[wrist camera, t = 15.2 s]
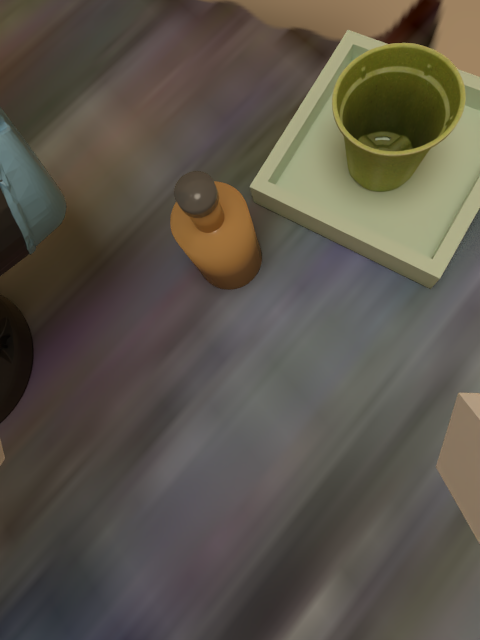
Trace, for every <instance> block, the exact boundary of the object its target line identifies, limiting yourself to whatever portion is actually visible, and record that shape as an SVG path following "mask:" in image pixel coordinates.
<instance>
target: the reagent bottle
mask: <svg viewBox="0 0 480 640" xmlns="http://www.w3.org/2000/svg"><path fill="white" fill-rule="evenodd" d="M174 197H175V200H176V203H175V205H174V207H173V210H172V213H171V219H170V225H171V230H172V234H173V236H174V238H175V240H176V241H177V243H178V244H179V245H180V247H181V248H182V249H183V250H184V252H185V253H186V254H187V256H188V257H189V258H190V259H191V261H192V262H193V263H194V265H195V266H196V267H197V268H198V270H199V271H200V272H201V274H202V275H203V276H204V277H205V279H206V280H207V281H208V282H209V283H210V284H212V285H213V286H215V287H217V288H221V289H228V290H230V289H237V288H240V287H243V286H245V285H246V284H248V283H249V282H250V281H252V280H253V278H254V277H255V276H256V275H257V273H258V271H259V269H260V266H261V262H262V253H261V249H260V246H259V243H258V239H257V236H256V233H255V230H254V226H253V223H252V220H251V217H250V214H249V210H248V207H247V204H246V202H245V200H244V198H243V196H242V195H241V194H240V193H239V192H238V191H237V190H236V189H235V188H234V187H232V186H230V185H228V184H225V183H222V182H214V181H213V179H212V178H211V177H210V176H209V175H208V174H206V173H204V172H201V171H193V172H189V173H187V174H185V175H184V176H182V177H181V178H180V179H179V180H178V182H177V183H176V186H175V189H174Z"/></svg>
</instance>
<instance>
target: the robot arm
mask: <svg viewBox="0 0 480 640" xmlns="http://www.w3.org/2000/svg"><path fill="white" fill-rule="evenodd" d="M65 212H66V202H65V198H64V196H63V194H62V192H61V191H60V189H59V187H58V186H57V184H56V183H55V182H54V180H53V179H52V177H51V176H50V174H49V173H48V171H47V170H46V169H45V167H44V166H43V164H42V163H41V162H40V160H39V159H38V158H37V156H36V155H35V153H34V152H33V151H32V149H31V148H30V146H29V145H28V144H27V142H26V141H25V140H24V138H23V137H22V136H21V134H20V133H19V131H18V130H17V129H16V127H15V126H14V125H13V123H12V122H11V121H10V119H9V118H8V117H7V115H6V114H5V113H4V111H3V110H2V109H1V107H0V276H1V275H2V274H4V273H5V272H6V271H7V270H9V269H10V268H11V267H13V266H14V265H15V264H17V263H18V262H19V261H20V260H22V259H23V258H24V257H26V256H27V255H28V254H30V255H31V254H32V253H33V252H34V251H35V250H36V246H37V245H38V244H39V243H40V242H41V241H42V240H44V239H45V238H46V237H47V236H48V235H49V234H50V233H51V232H52V231H54V230H55V229H56V228H57V227H58V226H59V225H60V224H61V223H62V221H63V219H64V217H65ZM32 358H33V348H32V339H31V334H30V331H29V328H28V325H27V323H26V321H25V319H24V317H23V315H22V314H21V312H20V311H19V310H18V308H17V307H16V306H15V305H14V304H13V303H12V302H11V301H9V300H8V299H7V298H5V297H3V296H2V295H0V422H1V421H2V420H3V419H4V418H5V417H6V416H7V415H8V414H9V413H10V412H11V411H12V409H13V408H14V407H15V405H16V404H17V403H18V401H19V399H20V398H21V396H22V394H23V392H24V390H25V387H26V385H27V382H28V379H29V376H30V372H31V367H32ZM4 459H5V456H4V452H3V448H2V444H1V440H0V466H1V464H2V462H3V461H4ZM436 468H437V470H438V471H439V473H440V475H441V477H442V478H443V480H444V482H445V484H446V486H447V487H448V489H449V491H450V493H451V494H452V496H453V498H454V500H455V501H456V503H457V505H458V507H459V508H460V510H461V512H462V514H463V516H464V517H465V519H466V521H467V523H468V524H469V526H470V528H471V530H472V531H473V533H474V535H475V537H476V538H477V540H478V542H479V544H480V393H458V396H457V399H456V402H455V406H454V409H453V412H452V415H451V419H450V422H449V425H448V429H447V432H446V435H445V439H444V442H443V445H442V449H441V452H440V455H439V459H438V462H437V465H436Z"/></svg>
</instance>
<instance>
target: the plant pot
mask: <svg viewBox="0 0 480 640" xmlns="http://www.w3.org/2000/svg"><path fill="white" fill-rule="evenodd" d="M465 101H466V93H465V85H464V82H463V79H462V77H461V75H460V73H459V71H458V70H457V68H456V67H455V65H454V64H453V63H452V62H451V61H450V60H449V59H448V58H447V57H445V56H444V55H443V54H441V53H439V52H437V51H435V50H433V49H430V48H428V47H425V46H422V45H418V44H412V43H393V44H387V45H384V46H380V47H376V48H373V49H371V50H368V51H367V52H365V53H363V54H362V55H360V56H358V57H357V58H355V59H354V60H353V61H352V62H351V63H350V64H349V65H348V66H347V67H346V68H345V69H344V70H343V71H342V73H341V74H340V76H339V78H338V79H337V81H336V84H335V86H334V90H333V95H332V110H333V115H334V119H335V122H336V124H337V126H338V128H339V130H340V132H341V133H342V134H343V136H344V142H345V149H346V158H347V165H348V170H349V173H350V175H351V176H352V178H353V179H354V180H356V181H357V182H358V183H359V184H360V185H361V186H362V187H363V188H366V189H368V190H371V191H379V192H382V191H390V190H393V189H396V188H398V187H400V186H401V185H402V184H404V183H405V182H406V181H408V180H409V179H410V178H411V176H412V175H413V174H414V172H415V171H416V169H417V168H418V166H419V165H420V163H421V162H422V160H423V159H424V157H425V156H426V154H427V153H428V152H429V150H430V149H431V148H432V147H434V146H436V145H437V144H439V143H440V142H441V141H443V140H444V139H445V138H446V137H447V136H448V135H449V134H450V133H451V132H452V131H453V130H454V128H455V127H456V125H457V124H458V122H459V120H460V118H461V116H462V114H463V111H464V107H465ZM383 136H386V137H390V140H375V139H376V137H383Z"/></svg>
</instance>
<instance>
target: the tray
mask: <svg viewBox="0 0 480 640" xmlns="http://www.w3.org/2000/svg"><path fill="white" fill-rule="evenodd" d="M384 45H387V44H386V43H383V42H381V41H378V40H375V39H372V38H369V37H367V36H364V35H361V34H358V33H355V32H352V31H350V30H348V31H347V32H346V34H345V35H344V37H343V39H342V40H341V42H340V43H339V45H338V47H337V48H336V50H335V51H334V53H333V55H332V56H331V58H330V59H329V61H328V62H327V64H326V66H325V67H324V69H323V70H322V72H321V74H320V75H319V77H318V78H317V80H316V82H315V83H314V85H313V86H312V88H311V90H310V91H309V93H308V94H307V96H306V98H305V99H304V101H303V102H302V104H301V106H300V107H299V109H298V110H297V112H296V114H295V115H294V117H293V118H292V120H291V121H290V123H289V125H288V126H287V128H286V129H285V131H284V133H283V134H282V136H281V137H280V139H279V141H278V142H277V144H276V145H275V147H274V149H273V150H272V152H271V153H270V155H269V157H268V158H267V160H266V161H265V163H264V165H263V166H262V168H261V169H260V171H259V172H258V174H257V176H256V177H255V179H254V180H253V182H252V184H251V185H250V190H251V194H252V197H253V201H254V203H256V204H258V205H260V206H262V207H265V208H267V209H269V210H271V211H273V212H275V213H277V214H279V215H281V216H283V217H285V218H287V219H289V220H291V221H293V222H295V223H297V224H299V225H301V226H303V227H305V228H307V229H309V230H311V231H313V232H315V233H317V234H319V235H321V236H323V237H326V238H328V239H330V240H332V241H334V242H336V243H338V244H340V245H342V246H344V247H346V248H348V249H350V250H352V251H354V252H356V253H358V254H360V255H362V256H364V257H366V258H368V259H370V260H372V261H374V262H376V263H378V264H380V265H382V266H384V267H387V268H389V269H391V270H393V271H395V272H397V273H399V274H401V275H403V276H405V277H407V278H409V279H411V280H413V281H415V282H417V283H419V284H421V285H423V286H425V287H427V288H429V289H431V288H432V287H433V286H434V284H435V283H436V282H437V281H438V280H439V279H440V277H441V276H442V274H443V272H444V270H445V269H446V267H447V265H448V263H449V261H450V260H451V258H452V256H453V254H454V252H455V251H456V249H457V247H458V245H459V244H460V242H461V240H462V238H463V236H464V235H465V233H466V231H467V229H468V227H469V226H470V224H471V222H472V220H473V219H474V217H475V215H476V213H477V211H478V210H479V208H480V77H478V76H475V75H472V74H470V73H467V72H464V71H461V70H459V69H457V70H458V71H459V73H460V75H461V77H462V79H463V82H464V85H465V93H466V101H465V107H464V111H463V114H462V116H461V118H460V120H459V122H458V124H457V125H456V127H455V128H454V130H453V131H452V132H451V133H450V134H449V135H448V136H447V137H446V138H445V139H444V140H443V141H441V142H440V143H439V144H437V145H436V146H434V147H432V148H431V149H430V150H429V152H428V153H427V154H426V156H425V157H424V159H423V160H422V162H421V163H420V165H419V166H418V168H417V169H416V171H415V172H414V174H413V175H412V176H411V178H410V179H409V180H408V181H406V182H405V183H404V184H402V185H401V186H400V187H398V188H396V189H393V190H390V191H382V192H379V191H371V190H368V189H366V188H363V187H362V186H361V185H360V184H359V183H358V182H357V181H356V180H354V179H353V178H352V176H351V175H350V173H349V170H348V165H347V158H346V149H345V142H344V136H343V134H342V133H341V132H340V130H339V128H338V126H337V124H336V122H335V119H334V115H333V110H332V95H333V90H334V86H335V84H336V81H337V79H338V78H339V76H340V74H341V73H342V71H343V70H344V69H345V68H346V67H347V66H348V65H349V64H350V63H351V62H352V61H353V60H354V59H355V58H357V57H358V56H360V55H362V54H363V53H365V52H367V51H368V50H371V49H373V48H376V47H380V46H384ZM375 140H390V137H386V136H383V137H376V139H375Z"/></svg>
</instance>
